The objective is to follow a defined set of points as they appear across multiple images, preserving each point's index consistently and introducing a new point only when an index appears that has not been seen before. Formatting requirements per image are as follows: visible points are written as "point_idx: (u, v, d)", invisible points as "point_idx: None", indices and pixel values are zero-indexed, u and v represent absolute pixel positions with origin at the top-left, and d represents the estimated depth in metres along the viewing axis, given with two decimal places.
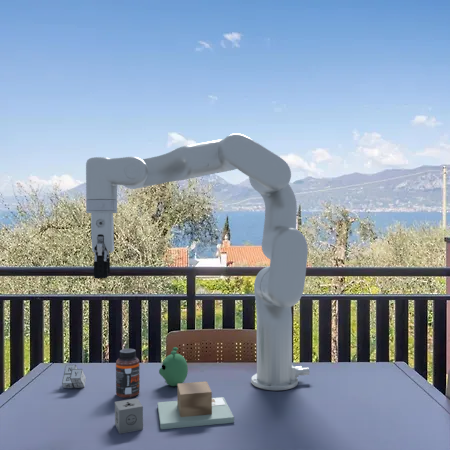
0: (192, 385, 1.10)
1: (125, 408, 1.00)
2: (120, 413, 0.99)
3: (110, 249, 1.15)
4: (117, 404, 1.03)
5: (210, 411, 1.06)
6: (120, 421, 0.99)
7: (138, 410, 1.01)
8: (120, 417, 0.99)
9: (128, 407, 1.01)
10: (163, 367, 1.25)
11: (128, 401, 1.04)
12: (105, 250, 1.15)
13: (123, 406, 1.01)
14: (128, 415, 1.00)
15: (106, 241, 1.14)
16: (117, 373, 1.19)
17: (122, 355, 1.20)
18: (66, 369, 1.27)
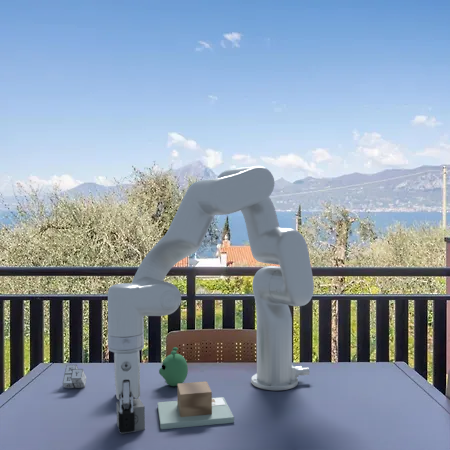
0: (192, 385, 1.10)
1: None
2: None
3: (137, 396, 0.98)
4: (119, 404, 1.02)
5: (210, 411, 1.06)
6: None
7: (140, 410, 1.01)
8: None
9: None
10: (163, 367, 1.25)
11: (130, 401, 1.04)
12: (131, 399, 0.99)
13: None
14: None
15: (132, 387, 0.98)
16: None
17: None
18: (67, 369, 1.27)
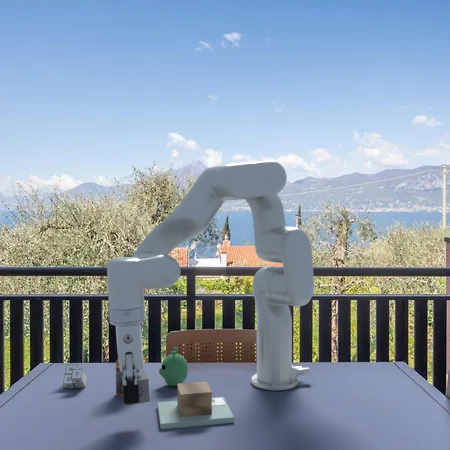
0: (192, 385, 1.10)
1: None
2: None
3: (140, 367, 0.99)
4: None
5: (210, 411, 1.06)
6: None
7: (144, 382, 1.02)
8: None
9: None
10: (163, 367, 1.25)
11: None
12: (135, 371, 1.00)
13: None
14: None
15: (135, 359, 0.98)
16: (117, 373, 1.19)
17: None
18: (67, 369, 1.27)
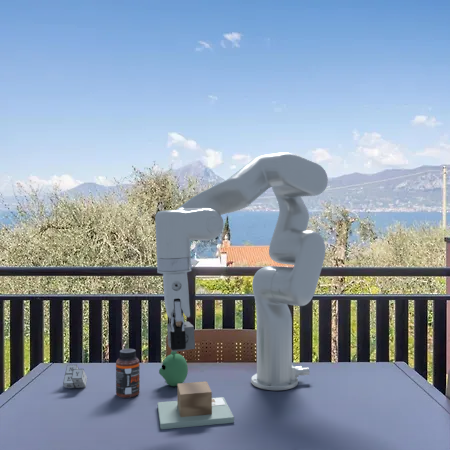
0: (192, 385, 1.10)
1: None
2: None
3: (188, 314, 1.03)
4: (169, 325, 1.07)
5: (210, 411, 1.06)
6: None
7: (190, 330, 1.05)
8: None
9: None
10: (163, 367, 1.25)
11: None
12: (182, 318, 1.04)
13: None
14: None
15: (183, 305, 1.02)
16: (117, 373, 1.19)
17: (122, 355, 1.20)
18: (67, 369, 1.27)
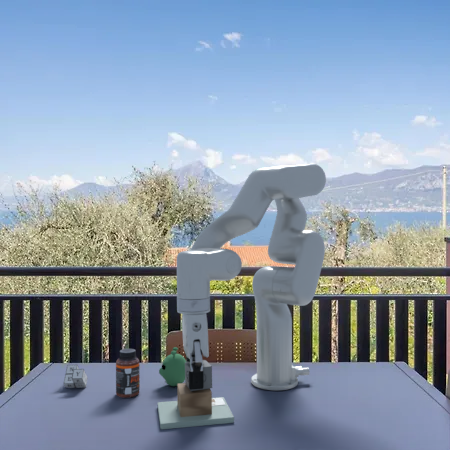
0: None
1: None
2: None
3: (207, 355, 1.04)
4: (187, 364, 1.09)
5: (210, 411, 1.06)
6: None
7: (207, 369, 1.07)
8: None
9: None
10: (163, 367, 1.25)
11: None
12: (201, 358, 1.05)
13: None
14: None
15: (202, 346, 1.04)
16: (117, 373, 1.19)
17: (122, 355, 1.20)
18: (68, 369, 1.27)
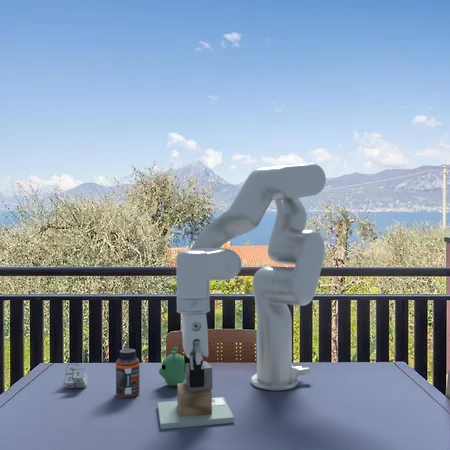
0: None
1: None
2: None
3: (206, 355, 1.04)
4: (188, 365, 1.09)
5: (210, 411, 1.06)
6: None
7: (208, 371, 1.07)
8: None
9: None
10: (163, 367, 1.25)
11: None
12: None
13: None
14: None
15: (202, 346, 1.04)
16: (117, 373, 1.19)
17: (122, 355, 1.20)
18: (68, 369, 1.27)
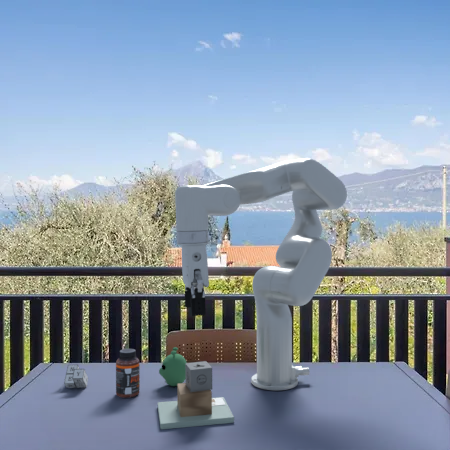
0: None
1: (196, 368, 1.07)
2: (191, 372, 1.06)
3: (207, 284, 1.08)
4: (188, 365, 1.09)
5: (210, 411, 1.06)
6: (191, 380, 1.06)
7: (208, 371, 1.07)
8: (191, 376, 1.06)
9: (198, 368, 1.07)
10: (163, 367, 1.25)
11: (198, 363, 1.10)
12: None
13: (194, 367, 1.08)
14: (199, 375, 1.06)
15: (203, 275, 1.07)
16: (117, 373, 1.19)
17: (122, 355, 1.20)
18: (68, 369, 1.27)
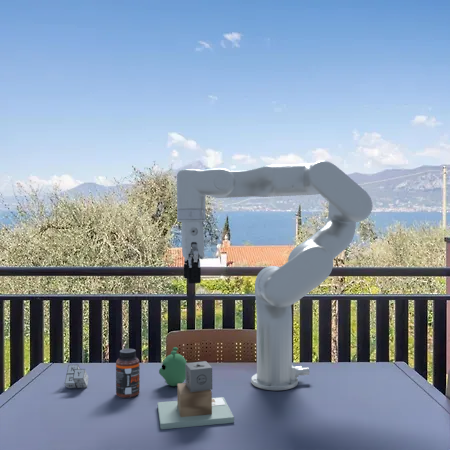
0: None
1: (196, 368, 1.07)
2: (191, 372, 1.06)
3: (203, 256, 1.22)
4: (188, 365, 1.09)
5: (210, 411, 1.06)
6: (191, 380, 1.06)
7: (208, 371, 1.07)
8: (191, 376, 1.06)
9: (198, 368, 1.07)
10: (163, 367, 1.25)
11: (198, 363, 1.10)
12: (198, 257, 1.22)
13: (194, 367, 1.08)
14: (199, 375, 1.06)
15: (199, 248, 1.21)
16: (117, 373, 1.19)
17: (122, 355, 1.20)
18: (69, 369, 1.27)
